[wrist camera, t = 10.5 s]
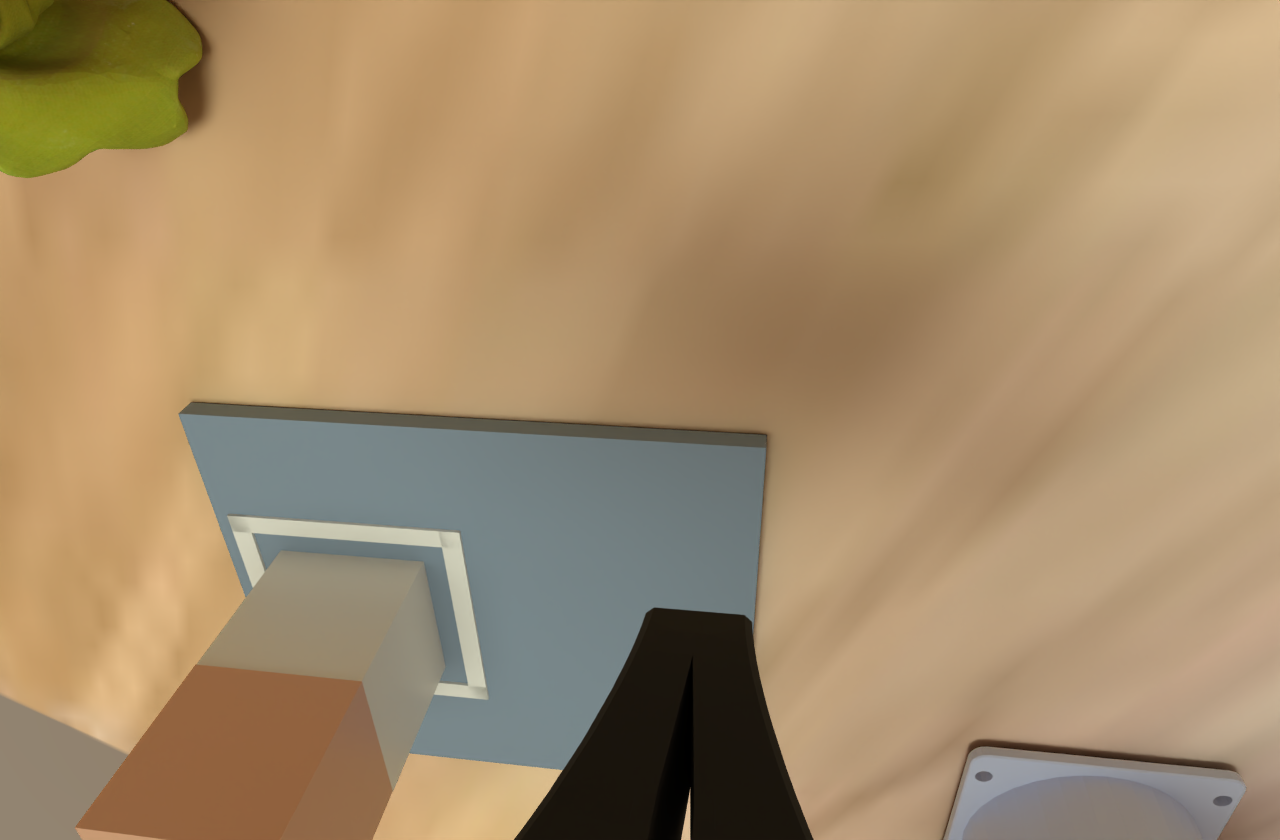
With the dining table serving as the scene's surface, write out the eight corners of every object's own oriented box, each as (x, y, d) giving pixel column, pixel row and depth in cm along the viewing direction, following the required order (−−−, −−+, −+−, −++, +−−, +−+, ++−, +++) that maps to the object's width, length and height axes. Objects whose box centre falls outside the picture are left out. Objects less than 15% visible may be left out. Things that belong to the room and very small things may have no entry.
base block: (445, 666, 27) (393, 791, 24) (314, 654, 28) (242, 774, 24) (423, 561, 25) (361, 682, 21) (281, 550, 26) (195, 665, 22)
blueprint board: (742, 773, 29) (741, 791, 29) (306, 727, 31) (297, 743, 31) (766, 435, 22) (765, 450, 21) (190, 402, 24) (176, 415, 23)
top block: (392, 790, 24) (319, 963, 20) (241, 773, 24) (144, 937, 20) (362, 681, 21) (272, 853, 18) (195, 664, 22) (74, 828, 18)
